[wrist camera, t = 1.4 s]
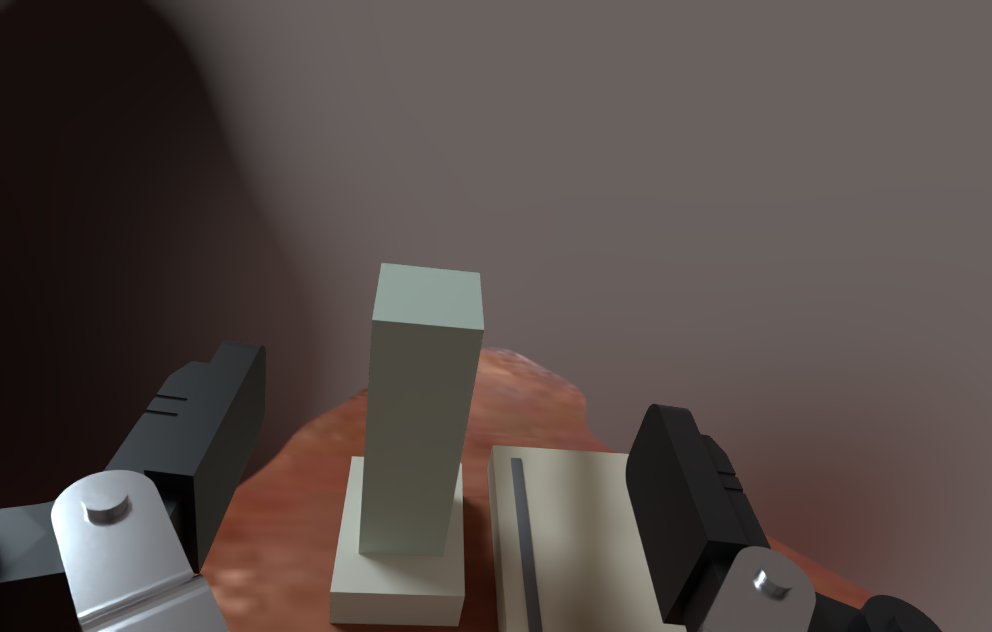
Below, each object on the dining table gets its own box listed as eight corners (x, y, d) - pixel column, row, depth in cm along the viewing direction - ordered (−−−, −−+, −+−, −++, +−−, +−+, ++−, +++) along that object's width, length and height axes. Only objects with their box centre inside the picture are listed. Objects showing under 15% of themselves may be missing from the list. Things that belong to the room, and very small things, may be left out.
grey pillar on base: (456, 492, 37) (500, 252, 28) (458, 626, 31) (516, 367, 22) (351, 487, 36) (362, 237, 27) (329, 622, 30) (334, 352, 21)
